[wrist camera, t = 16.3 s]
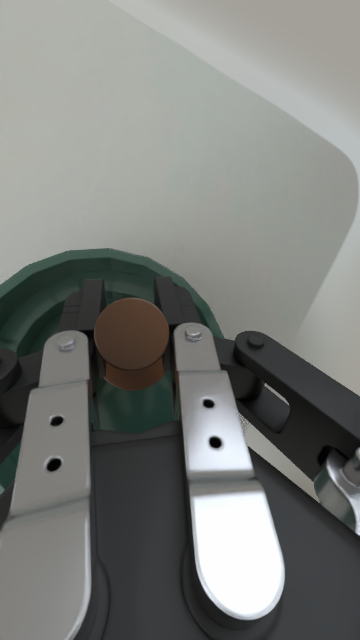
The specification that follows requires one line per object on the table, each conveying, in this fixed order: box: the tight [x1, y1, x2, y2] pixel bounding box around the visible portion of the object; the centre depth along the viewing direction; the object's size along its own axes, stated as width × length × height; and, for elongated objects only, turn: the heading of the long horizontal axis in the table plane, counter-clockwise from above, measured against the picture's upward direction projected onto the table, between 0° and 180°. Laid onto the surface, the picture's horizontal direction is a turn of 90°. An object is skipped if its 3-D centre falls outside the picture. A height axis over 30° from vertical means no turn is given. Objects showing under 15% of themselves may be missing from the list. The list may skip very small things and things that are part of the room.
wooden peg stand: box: [94, 298, 169, 391], centre depth 14 cm, size 5×5×10 cm
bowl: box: [0, 248, 224, 495], centre depth 19 cm, size 15×15×6 cm
